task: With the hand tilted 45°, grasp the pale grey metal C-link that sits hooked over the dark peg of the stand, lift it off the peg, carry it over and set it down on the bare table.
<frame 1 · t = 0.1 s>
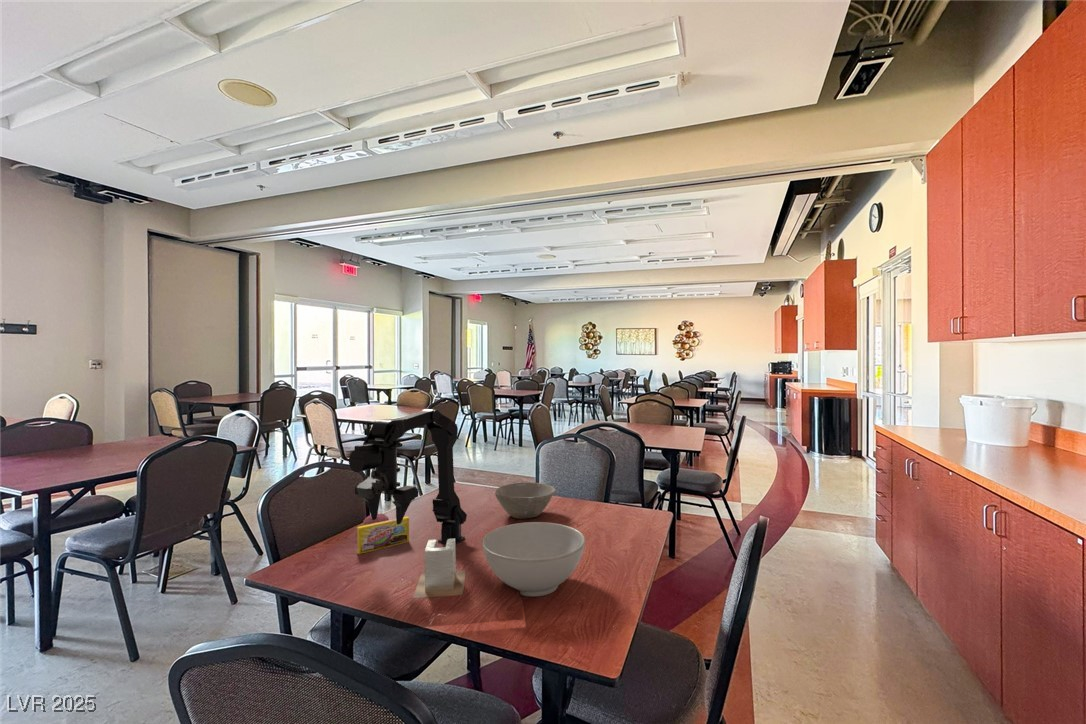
hand: (386, 521, 131), 15 cm above the table, tool pointing down, fingers open, 9 cm apart
c link: (440, 583, 123), point 1 cm above the table, touching peg stand
ceramic bowl: (525, 516, 181), on the table
peg stand: (441, 588, 123), on the table
candy box: (384, 548, 151), on the table
pink sprinkled cake pop: (376, 535, 163), on the table
decorative bowl: (534, 586, 123), on the table
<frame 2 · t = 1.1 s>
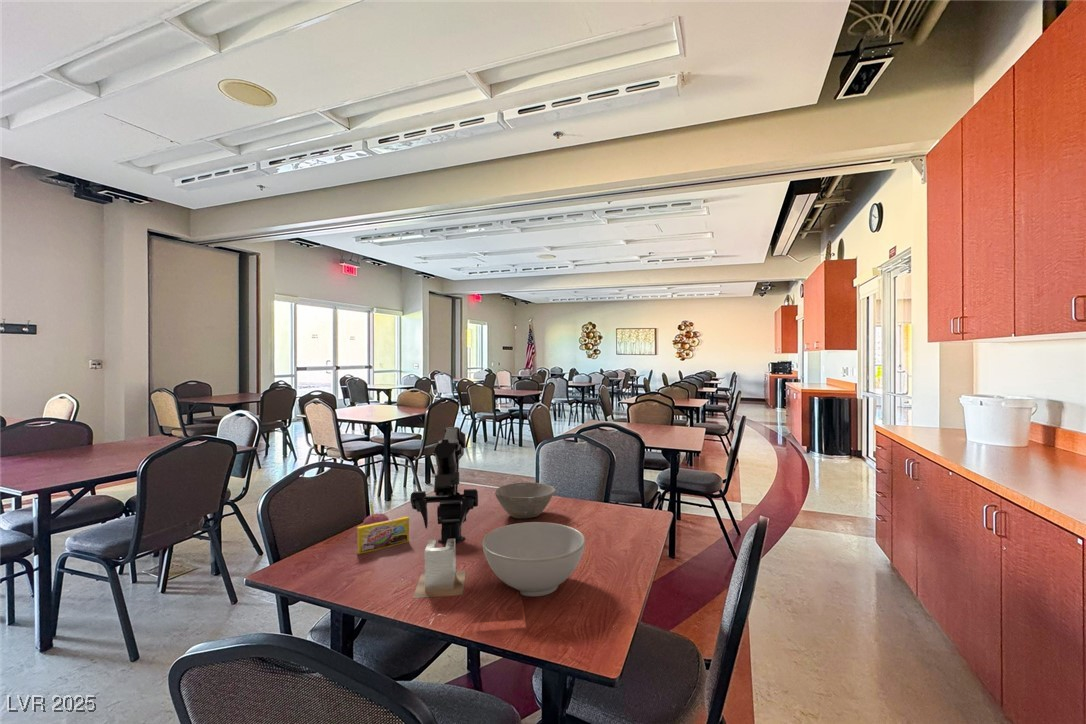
hand: (443, 527, 130), 13 cm above the table, tool tilted 45°, fingers open, 9 cm apart
nothing on the table moved.
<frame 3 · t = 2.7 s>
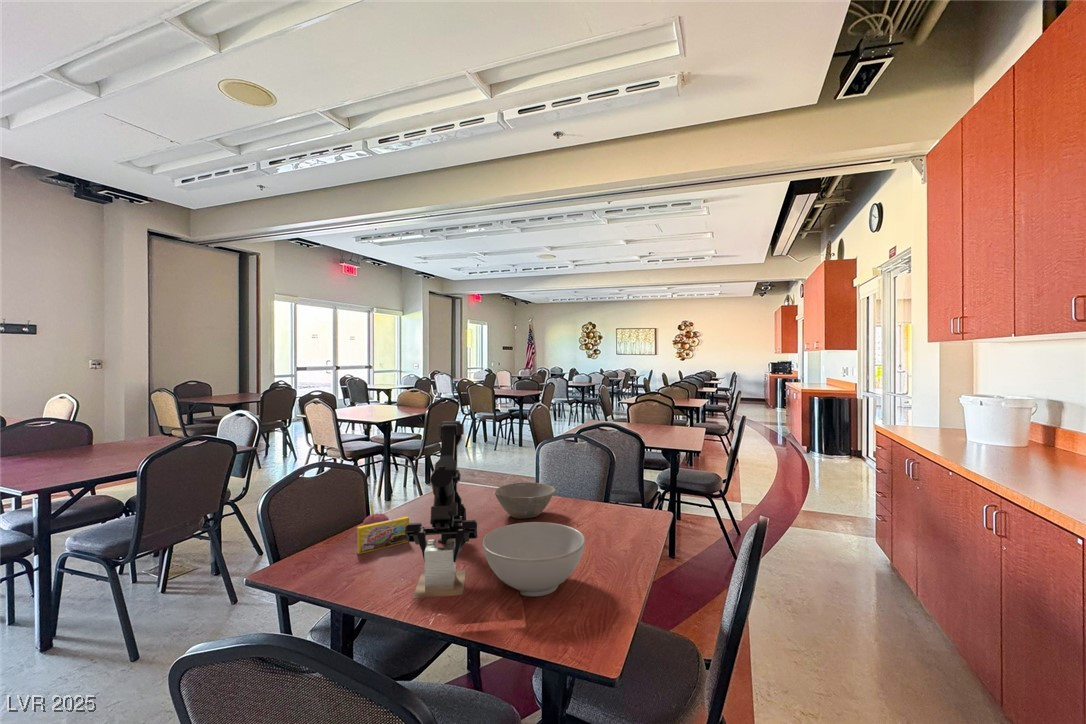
hand: (440, 562, 121), 7 cm above the table, tool tilted 45°, fingers closed on c link, 7 cm apart
c link: (440, 583, 123), point 1 cm above the table, touching gripper, peg stand
everything else where it was.
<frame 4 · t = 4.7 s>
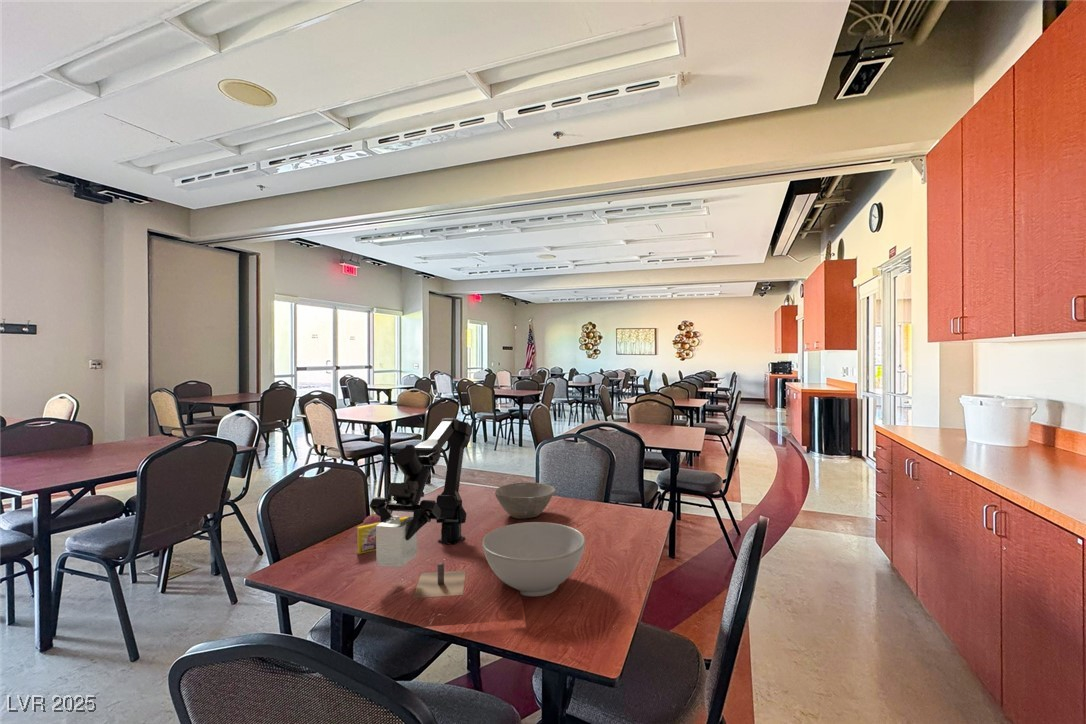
hand: (394, 538, 122), 13 cm above the table, tool tilted 45°, fingers closed on c link, 7 cm apart
c link: (397, 559, 123), point 7 cm above the table, touching gripper
everything else where it was.
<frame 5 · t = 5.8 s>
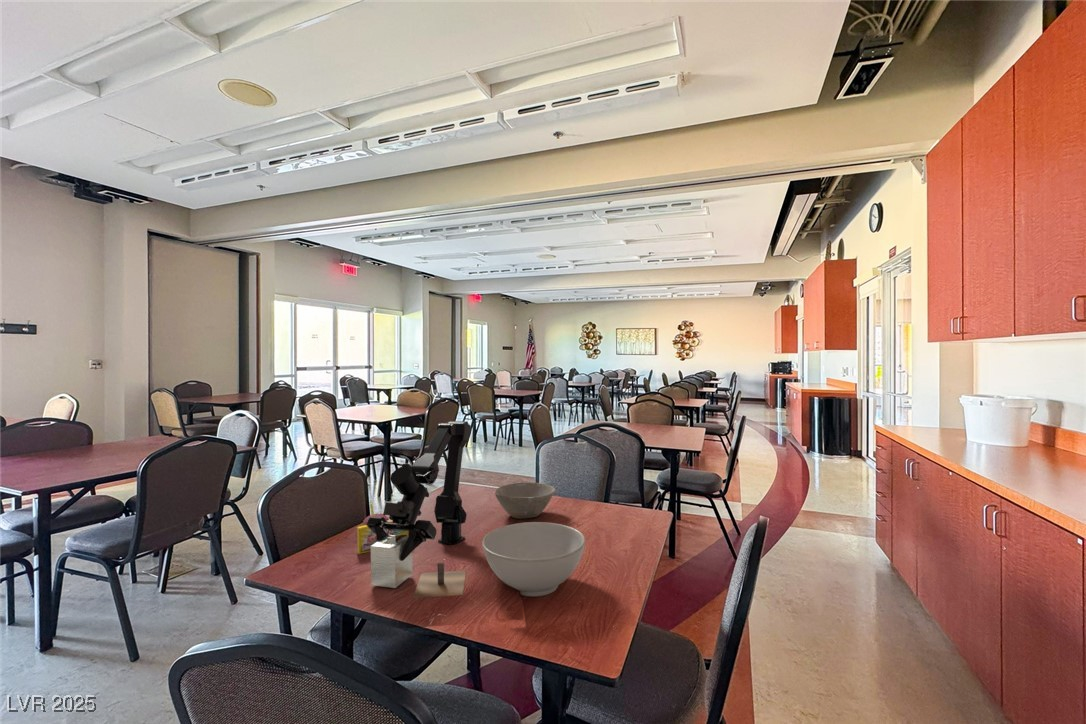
hand: (389, 558, 123), 8 cm above the table, tool tilted 45°, fingers closed on c link, 7 cm apart
c link: (392, 579, 124), point 2 cm above the table, touching gripper
everything else where it was.
when the fingers open (7 cm above the table, at t = 6.6 s): c link stays where it is, on the table.
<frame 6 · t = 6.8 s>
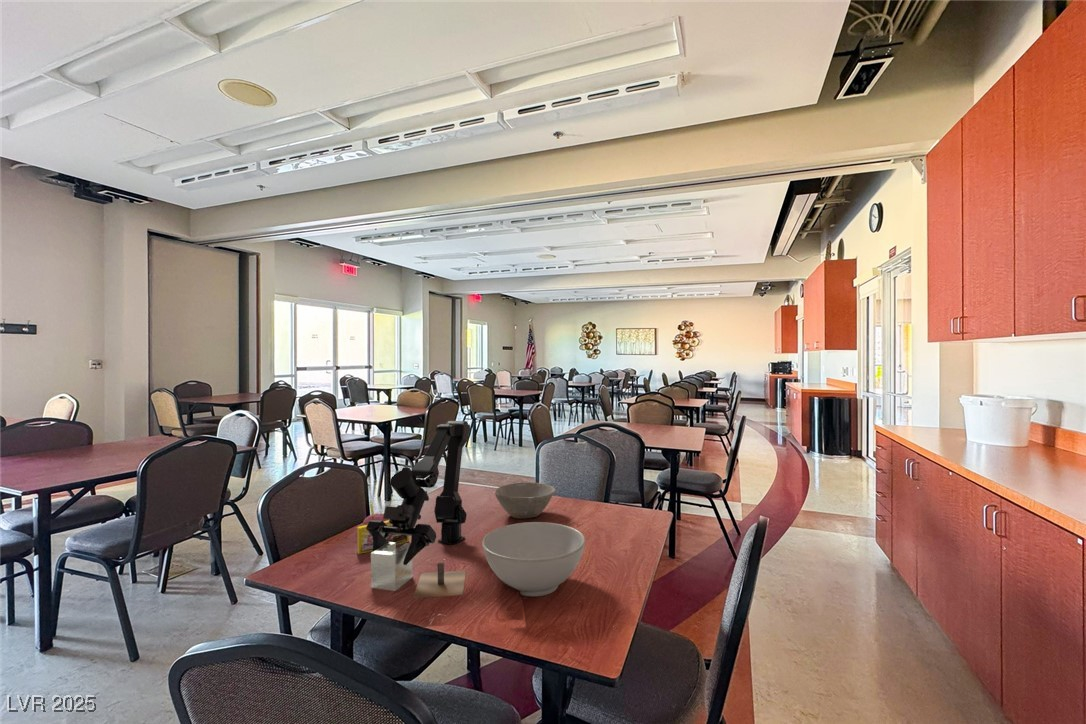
hand: (388, 562, 122), 7 cm above the table, tool tilted 45°, fingers open, 9 cm apart
c link: (392, 586, 124), on the table
everything else where it was.
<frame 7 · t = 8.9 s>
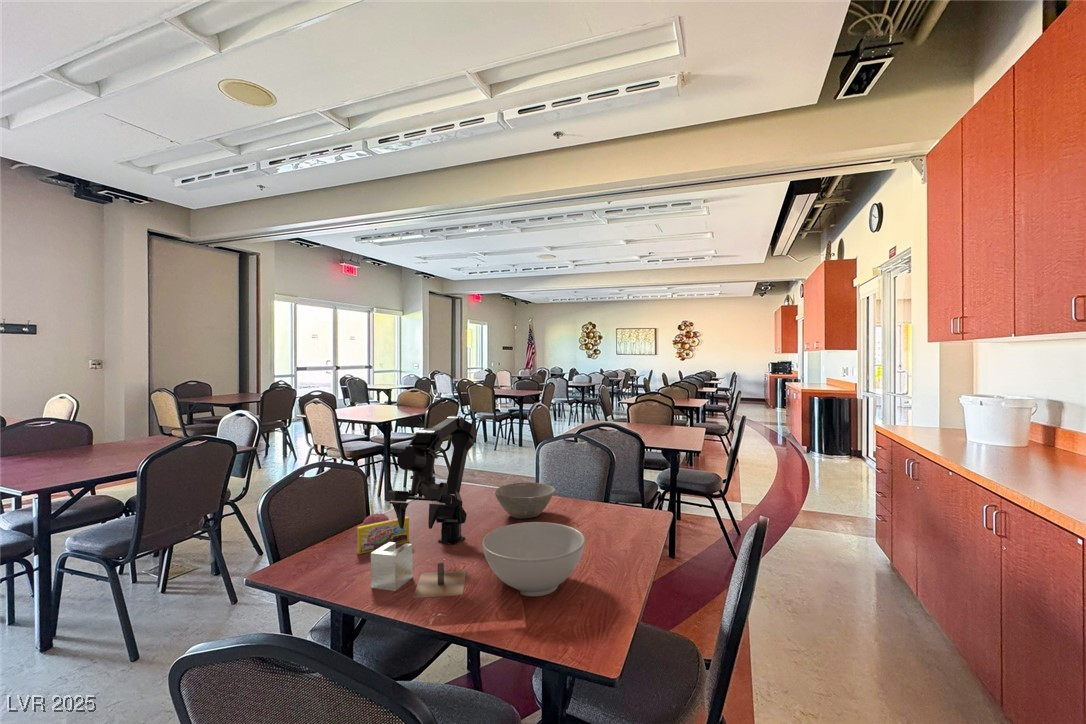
hand: (416, 528, 135), 11 cm above the table, tool tilted 15°, fingers open, 9 cm apart
nothing on the table moved.
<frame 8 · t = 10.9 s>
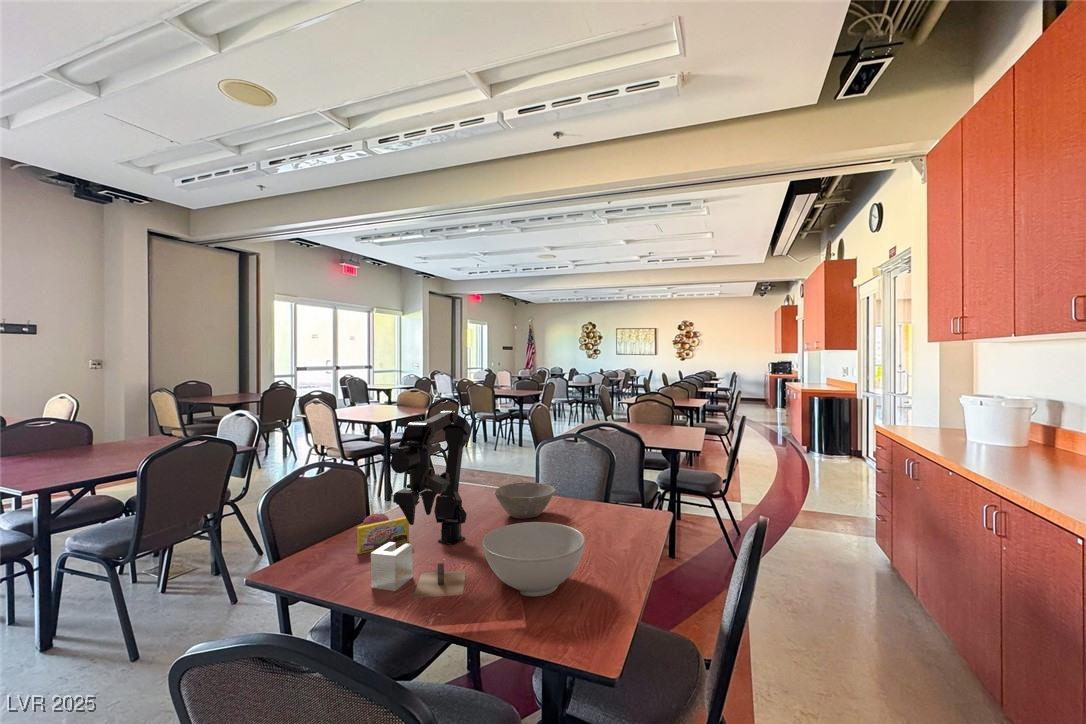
hand: (420, 519, 138), 13 cm above the table, tool pointing down, fingers open, 9 cm apart
nothing on the table moved.
at the end: c link inside the target area (0.0 cm from its centre), on the table; c link touching table; c link tilted 0° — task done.
